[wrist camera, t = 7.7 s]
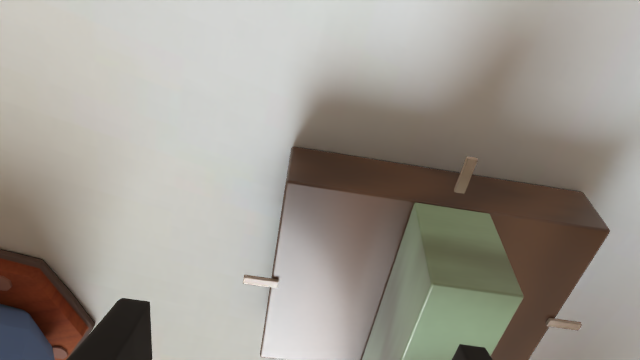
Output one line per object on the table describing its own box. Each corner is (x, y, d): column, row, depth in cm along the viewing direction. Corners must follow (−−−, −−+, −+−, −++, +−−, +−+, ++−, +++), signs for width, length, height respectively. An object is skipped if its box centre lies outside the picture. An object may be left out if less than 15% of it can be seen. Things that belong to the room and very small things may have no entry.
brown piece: (635, 151, 19) (675, 191, 17) (501, 373, 27) (516, 420, 25) (269, 91, 18) (259, 125, 16) (241, 339, 26) (232, 384, 24)
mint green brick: (414, 201, 17) (433, 289, 14) (490, 213, 18) (527, 303, 14) (357, 371, 23) (360, 465, 19) (415, 379, 23) (429, 473, 20)
